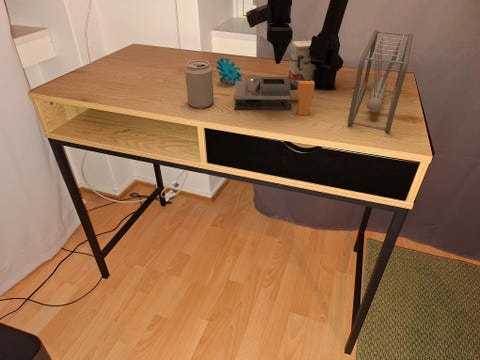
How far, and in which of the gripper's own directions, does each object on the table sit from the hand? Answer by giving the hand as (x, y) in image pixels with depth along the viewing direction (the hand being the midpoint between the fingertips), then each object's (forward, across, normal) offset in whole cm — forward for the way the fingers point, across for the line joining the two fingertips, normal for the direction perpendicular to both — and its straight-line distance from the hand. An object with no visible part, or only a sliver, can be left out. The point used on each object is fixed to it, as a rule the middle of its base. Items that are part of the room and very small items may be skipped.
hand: (277, 58), depth 97 cm
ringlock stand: (+13, 0, -1) cm, 13 cm away
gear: (+13, -15, -14) cm, 24 cm away
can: (+13, +3, -22) cm, 25 cm away
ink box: (+13, -18, +10) cm, 24 cm away
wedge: (+13, +7, +8) cm, 17 cm away
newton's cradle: (+13, +2, +28) cm, 31 cm away
